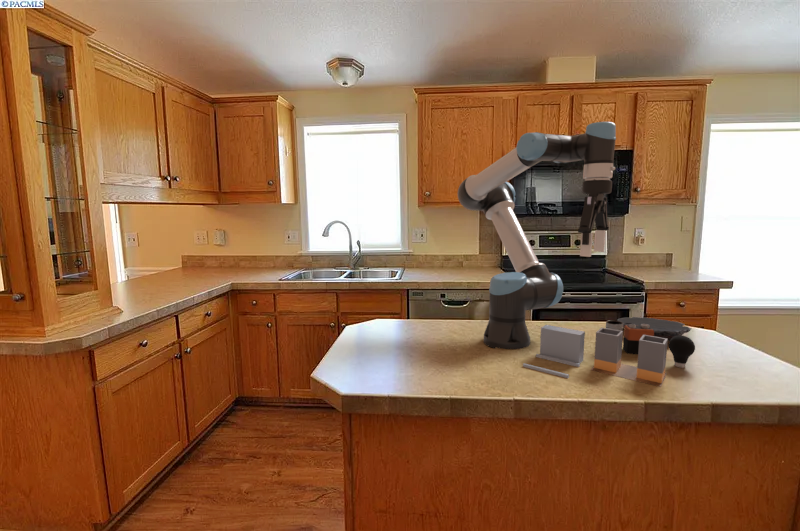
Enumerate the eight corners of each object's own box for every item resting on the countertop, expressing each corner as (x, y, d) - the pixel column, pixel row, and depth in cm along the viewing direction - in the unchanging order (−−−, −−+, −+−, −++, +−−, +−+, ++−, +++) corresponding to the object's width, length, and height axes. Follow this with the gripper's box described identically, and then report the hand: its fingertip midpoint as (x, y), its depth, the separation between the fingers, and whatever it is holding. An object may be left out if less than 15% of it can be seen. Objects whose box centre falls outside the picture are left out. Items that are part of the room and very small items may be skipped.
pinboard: (590, 375, 106) (591, 348, 104) (600, 363, 113) (601, 338, 112) (660, 392, 95) (663, 363, 94) (666, 378, 103) (668, 351, 102)
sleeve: (661, 383, 97) (664, 344, 95) (636, 377, 100) (639, 339, 99) (664, 376, 101) (667, 338, 99) (640, 370, 104) (643, 334, 103)
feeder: (522, 371, 109) (523, 336, 107) (543, 356, 120) (544, 324, 118) (567, 383, 101) (569, 346, 99) (584, 365, 112) (586, 331, 111)
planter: (619, 353, 121) (621, 320, 120) (622, 358, 117) (624, 324, 116) (603, 351, 123) (604, 319, 121) (605, 356, 118) (607, 323, 117)
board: (611, 338, 135) (612, 323, 134) (619, 325, 153) (620, 312, 152) (691, 350, 122) (692, 334, 122) (689, 335, 140) (690, 321, 140)
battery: (652, 360, 115) (655, 327, 114) (627, 358, 117) (629, 326, 115) (646, 354, 120) (648, 323, 118) (622, 353, 121) (624, 322, 120)
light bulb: (661, 367, 110) (664, 333, 109) (680, 366, 110) (683, 332, 109) (677, 376, 104) (680, 339, 103) (698, 375, 105) (701, 339, 103)
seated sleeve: (594, 367, 107) (596, 332, 105) (599, 361, 111) (601, 327, 109) (616, 372, 103) (618, 336, 102) (620, 366, 107) (623, 331, 106)
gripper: (599, 177, 99) (594, 259, 103) (622, 180, 118) (616, 250, 121) (569, 178, 104) (564, 257, 108) (595, 181, 123) (591, 249, 126)
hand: (592, 254), depth 114 cm, fingers open, 13 cm apart
